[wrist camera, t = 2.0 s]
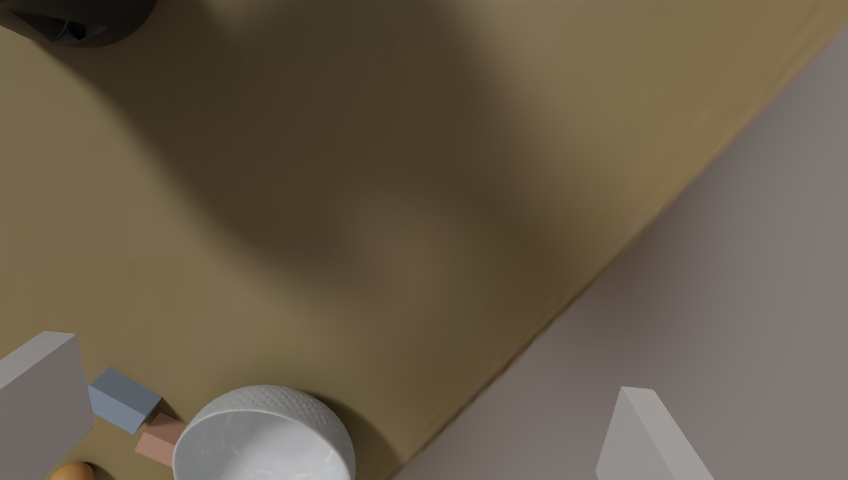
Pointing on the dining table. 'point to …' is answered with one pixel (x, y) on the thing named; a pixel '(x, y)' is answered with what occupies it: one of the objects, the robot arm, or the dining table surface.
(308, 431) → the cereal bowl
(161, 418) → the terracotta brick
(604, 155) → the dining table surface
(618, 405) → the robot arm
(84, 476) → the figurine
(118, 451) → the dining table surface
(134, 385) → the slate-blue brick
